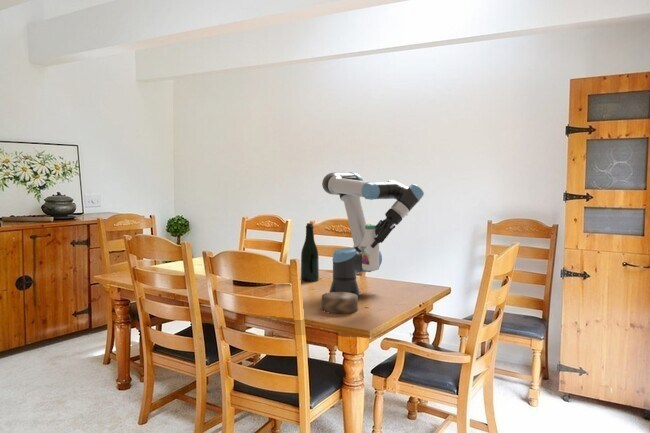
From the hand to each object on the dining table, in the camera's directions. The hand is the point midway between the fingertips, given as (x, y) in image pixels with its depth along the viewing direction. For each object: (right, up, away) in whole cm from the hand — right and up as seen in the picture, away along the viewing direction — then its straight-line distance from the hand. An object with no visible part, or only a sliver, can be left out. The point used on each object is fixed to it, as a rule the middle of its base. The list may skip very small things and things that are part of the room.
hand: (363, 250), depth 221 cm
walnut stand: (-10, -26, +1) cm, 28 cm away
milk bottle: (+4, -9, +2) cm, 9 cm away
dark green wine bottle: (-26, -22, +65) cm, 73 cm away
